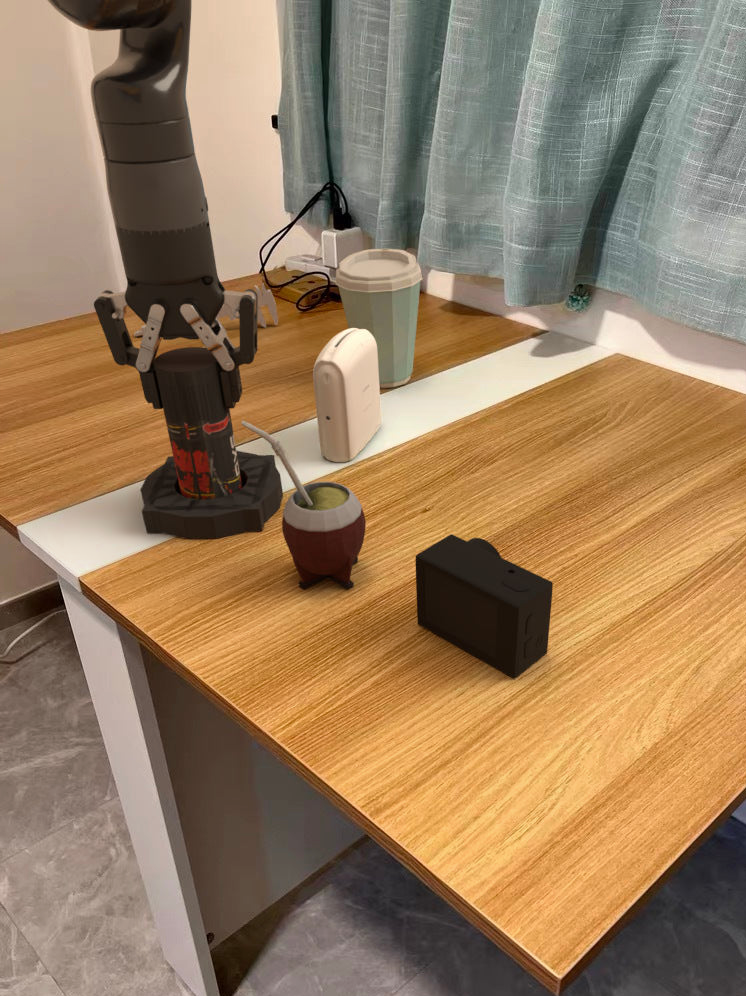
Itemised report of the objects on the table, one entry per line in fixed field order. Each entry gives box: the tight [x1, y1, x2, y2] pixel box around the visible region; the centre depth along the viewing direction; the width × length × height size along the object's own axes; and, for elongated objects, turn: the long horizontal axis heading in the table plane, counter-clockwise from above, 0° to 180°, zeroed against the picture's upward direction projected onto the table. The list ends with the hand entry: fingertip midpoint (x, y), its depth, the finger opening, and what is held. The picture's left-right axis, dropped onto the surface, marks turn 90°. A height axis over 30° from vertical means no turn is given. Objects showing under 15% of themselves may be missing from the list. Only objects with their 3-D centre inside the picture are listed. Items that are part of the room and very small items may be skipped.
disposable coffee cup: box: [335, 248, 424, 389], centre depth 110 cm, size 11×11×15 cm
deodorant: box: [154, 346, 242, 500], centre depth 85 cm, size 6×6×15 cm
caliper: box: [133, 282, 279, 337], centre depth 127 cm, size 20×1×6 cm, turn 103°
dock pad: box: [140, 450, 284, 540], centre depth 88 cm, size 13×13×2 cm
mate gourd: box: [241, 419, 367, 591], centre depth 74 cm, size 8×8×15 cm
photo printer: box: [312, 328, 382, 463], centre depth 96 cm, size 10×4×12 cm, turn 162°
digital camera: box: [415, 533, 554, 680], centre depth 70 cm, size 10×5×7 cm, turn 48°
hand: (196, 404), depth 83 cm, fingers open, 6 cm apart
